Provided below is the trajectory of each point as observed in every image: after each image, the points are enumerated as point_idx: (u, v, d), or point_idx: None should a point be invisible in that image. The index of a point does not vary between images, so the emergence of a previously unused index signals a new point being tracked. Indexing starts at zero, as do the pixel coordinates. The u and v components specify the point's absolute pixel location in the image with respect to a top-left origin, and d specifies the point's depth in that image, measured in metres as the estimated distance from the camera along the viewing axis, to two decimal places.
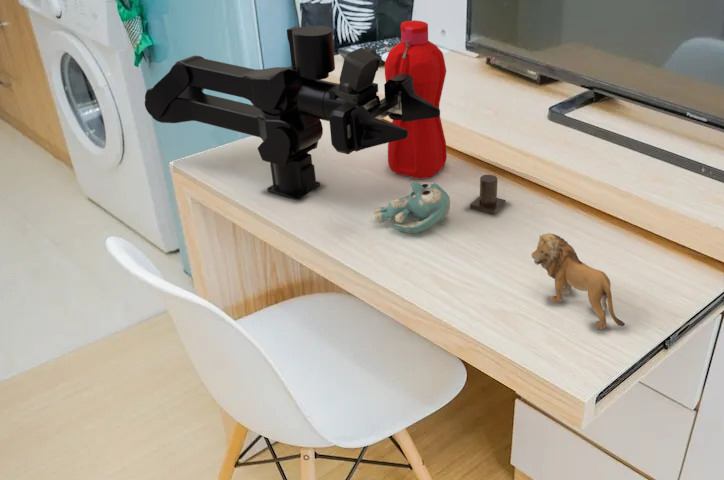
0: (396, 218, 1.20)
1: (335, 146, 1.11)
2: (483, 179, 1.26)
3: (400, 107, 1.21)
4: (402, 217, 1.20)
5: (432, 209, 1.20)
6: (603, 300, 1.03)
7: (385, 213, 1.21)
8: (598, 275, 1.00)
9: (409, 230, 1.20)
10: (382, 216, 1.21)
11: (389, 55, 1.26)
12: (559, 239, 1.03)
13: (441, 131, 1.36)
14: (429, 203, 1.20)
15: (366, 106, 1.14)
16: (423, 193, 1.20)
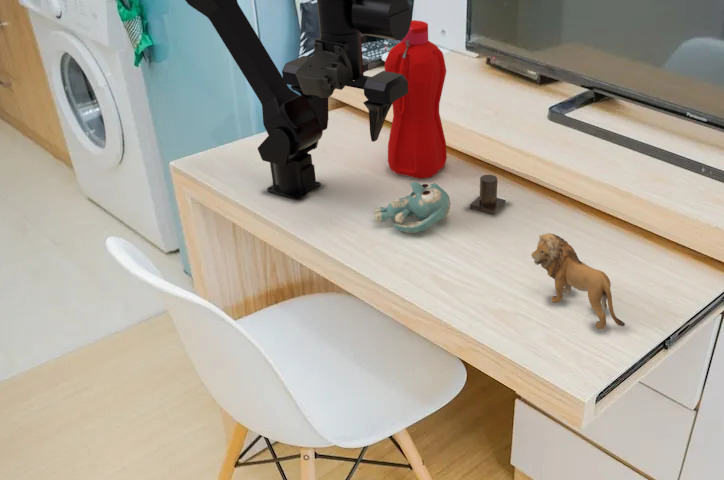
0: (396, 218, 1.20)
1: None
2: (483, 179, 1.26)
3: None
4: (402, 217, 1.20)
5: (432, 209, 1.20)
6: (603, 300, 1.03)
7: (385, 213, 1.21)
8: (598, 275, 1.00)
9: (409, 230, 1.20)
10: (382, 216, 1.21)
11: (389, 55, 1.26)
12: (559, 239, 1.03)
13: (441, 131, 1.36)
14: (429, 203, 1.20)
15: None
16: (423, 193, 1.20)
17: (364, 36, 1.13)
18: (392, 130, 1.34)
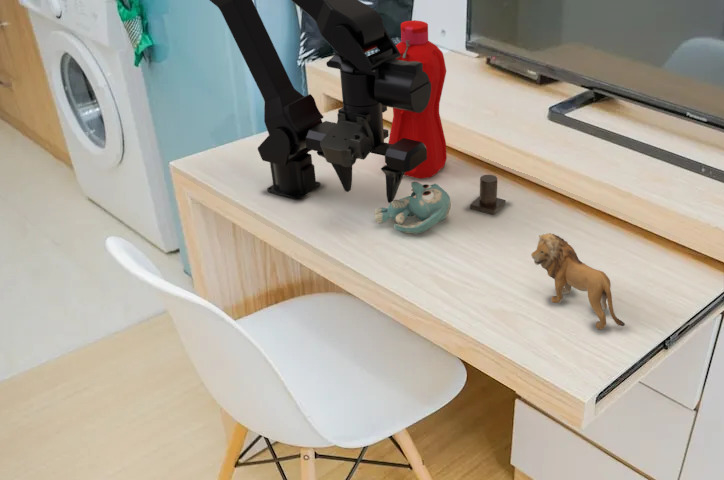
0: (396, 219, 1.20)
1: None
2: (483, 179, 1.26)
3: None
4: (403, 217, 1.20)
5: (433, 209, 1.20)
6: (602, 300, 1.03)
7: (386, 214, 1.21)
8: (598, 275, 1.00)
9: (410, 230, 1.20)
10: (383, 216, 1.21)
11: None
12: (559, 239, 1.03)
13: (441, 131, 1.36)
14: (429, 204, 1.20)
15: None
16: (424, 193, 1.20)
17: (385, 105, 1.18)
18: (392, 130, 1.34)
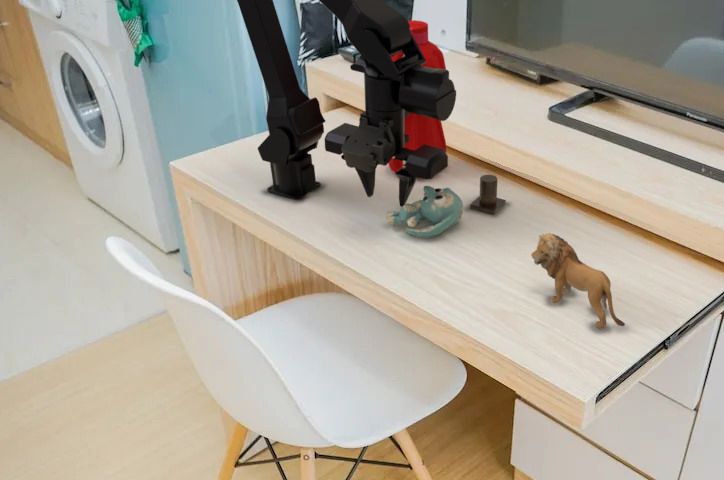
0: (408, 223, 1.19)
1: None
2: (483, 179, 1.26)
3: None
4: (414, 221, 1.19)
5: (444, 214, 1.19)
6: (602, 300, 1.03)
7: (397, 218, 1.21)
8: (598, 275, 1.00)
9: (421, 235, 1.19)
10: (394, 220, 1.20)
11: None
12: (559, 239, 1.03)
13: (441, 131, 1.36)
14: (441, 208, 1.19)
15: None
16: (436, 197, 1.19)
17: None
18: None
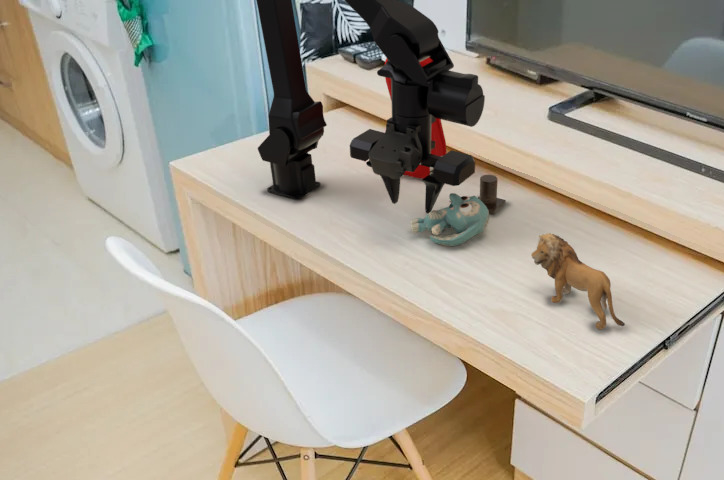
0: (432, 230, 1.18)
1: None
2: (483, 179, 1.26)
3: None
4: (439, 229, 1.18)
5: (470, 222, 1.17)
6: (602, 300, 1.03)
7: (422, 225, 1.19)
8: (598, 275, 1.00)
9: (445, 243, 1.17)
10: (419, 227, 1.19)
11: None
12: (559, 239, 1.03)
13: (441, 131, 1.36)
14: (466, 216, 1.17)
15: None
16: (461, 206, 1.17)
17: (434, 116, 1.15)
18: None
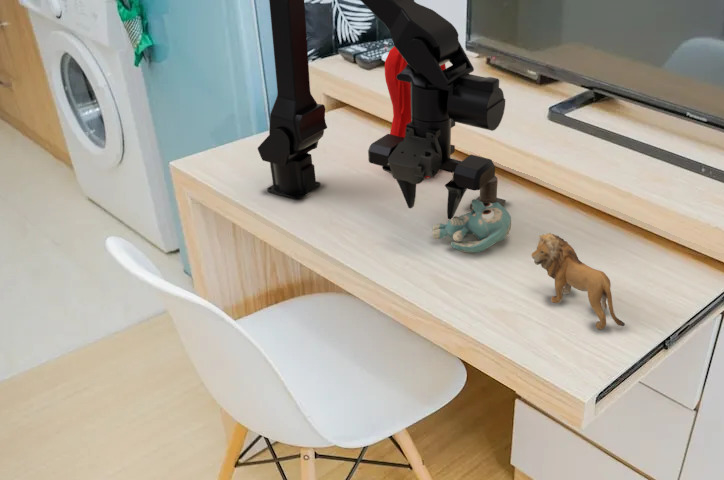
0: (453, 236, 1.16)
1: None
2: None
3: None
4: (460, 235, 1.16)
5: (491, 229, 1.16)
6: (602, 300, 1.03)
7: (444, 231, 1.18)
8: (598, 275, 1.00)
9: (466, 249, 1.16)
10: (440, 233, 1.17)
11: (389, 55, 1.26)
12: (559, 239, 1.03)
13: None
14: (488, 223, 1.15)
15: None
16: (483, 212, 1.16)
17: (453, 120, 1.14)
18: (392, 130, 1.34)
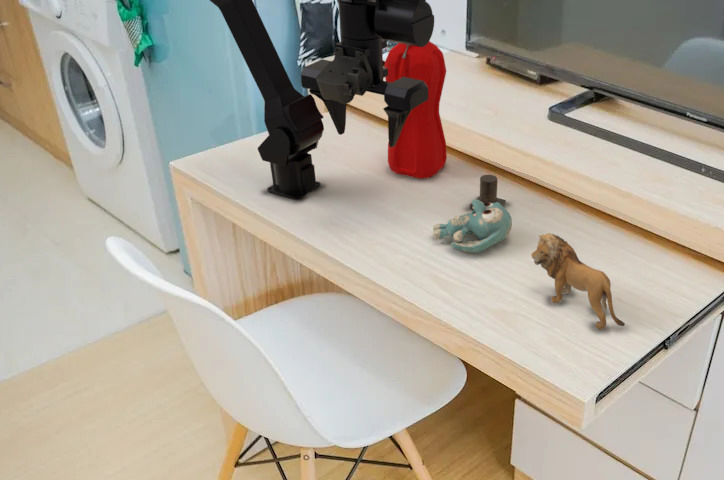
0: (454, 236, 1.16)
1: None
2: (483, 179, 1.26)
3: None
4: (460, 236, 1.16)
5: (492, 229, 1.16)
6: (603, 300, 1.03)
7: (444, 231, 1.17)
8: (598, 275, 1.00)
9: (466, 249, 1.15)
10: (440, 233, 1.17)
11: (389, 55, 1.26)
12: (559, 239, 1.03)
13: (441, 131, 1.36)
14: (489, 223, 1.15)
15: None
16: (484, 212, 1.16)
17: (385, 41, 1.12)
18: None
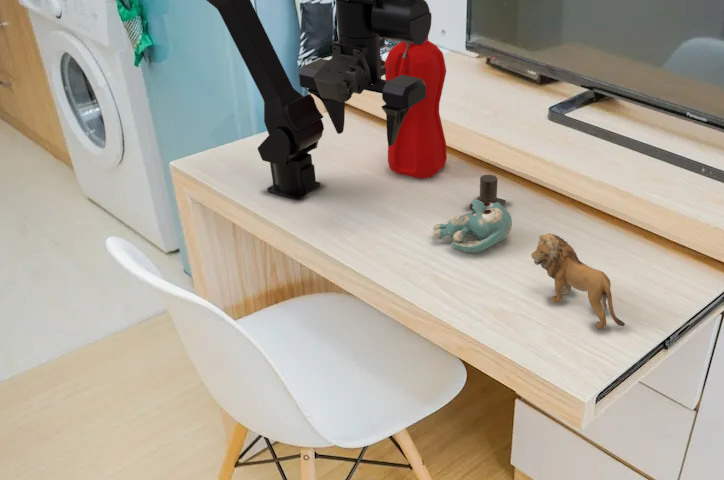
0: (454, 236, 1.16)
1: None
2: (483, 179, 1.26)
3: None
4: (460, 236, 1.16)
5: (492, 229, 1.16)
6: (603, 300, 1.03)
7: (444, 231, 1.17)
8: (598, 275, 1.00)
9: (466, 250, 1.15)
10: (440, 233, 1.17)
11: (389, 55, 1.26)
12: (559, 239, 1.03)
13: (441, 131, 1.36)
14: (489, 223, 1.15)
15: None
16: (484, 212, 1.16)
17: (382, 40, 1.12)
18: None
